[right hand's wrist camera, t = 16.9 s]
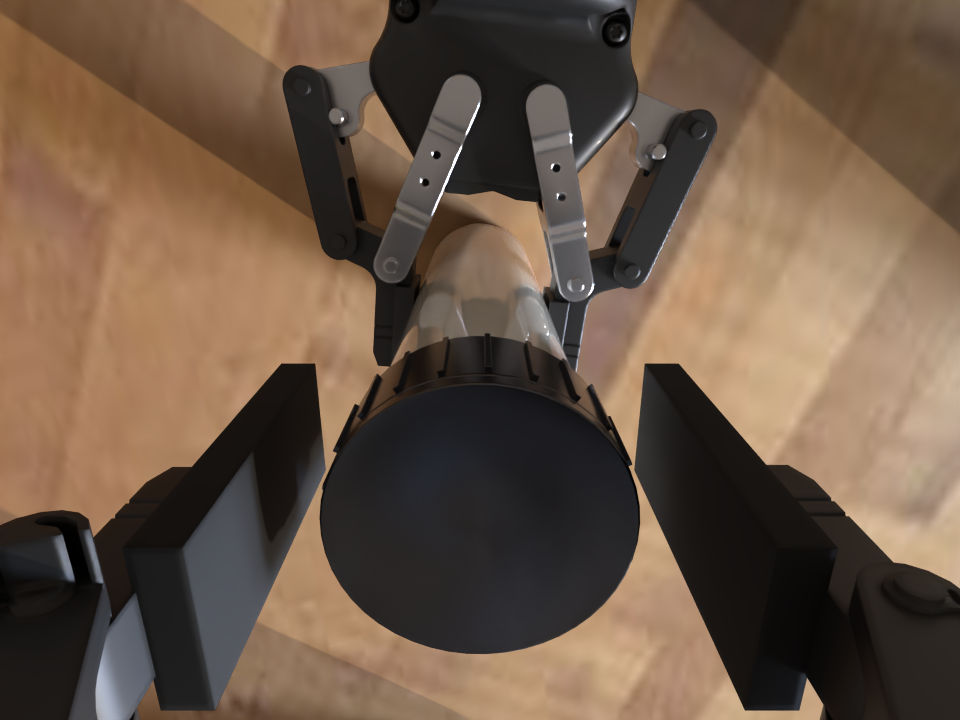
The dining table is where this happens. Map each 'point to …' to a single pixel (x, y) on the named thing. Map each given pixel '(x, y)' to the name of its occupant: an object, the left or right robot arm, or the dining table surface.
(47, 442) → the dining table surface
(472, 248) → the cream cylindrical bottle
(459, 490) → the lid
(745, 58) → the dining table surface
